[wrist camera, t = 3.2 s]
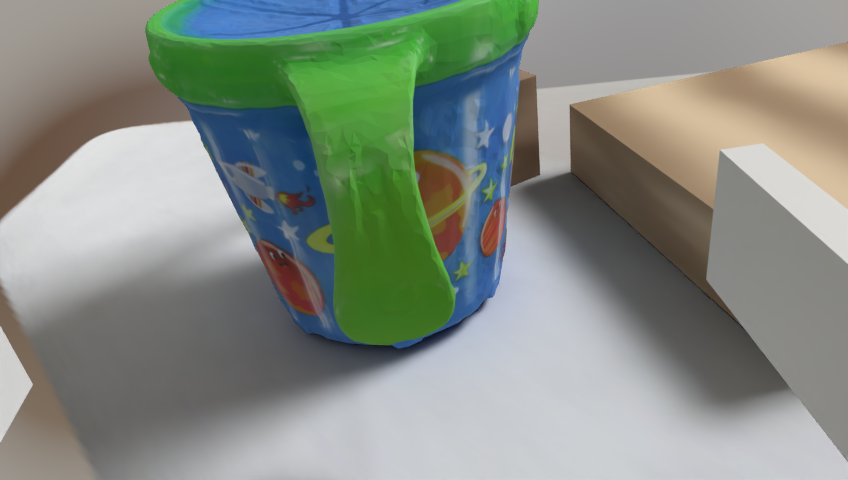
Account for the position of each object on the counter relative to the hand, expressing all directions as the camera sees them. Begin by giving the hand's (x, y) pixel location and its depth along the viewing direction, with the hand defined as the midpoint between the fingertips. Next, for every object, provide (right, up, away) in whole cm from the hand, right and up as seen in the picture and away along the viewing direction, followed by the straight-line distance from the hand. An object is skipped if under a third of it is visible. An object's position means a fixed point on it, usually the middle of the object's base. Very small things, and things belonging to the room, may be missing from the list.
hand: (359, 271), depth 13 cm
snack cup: (0, -1, +12) cm, 12 cm away
